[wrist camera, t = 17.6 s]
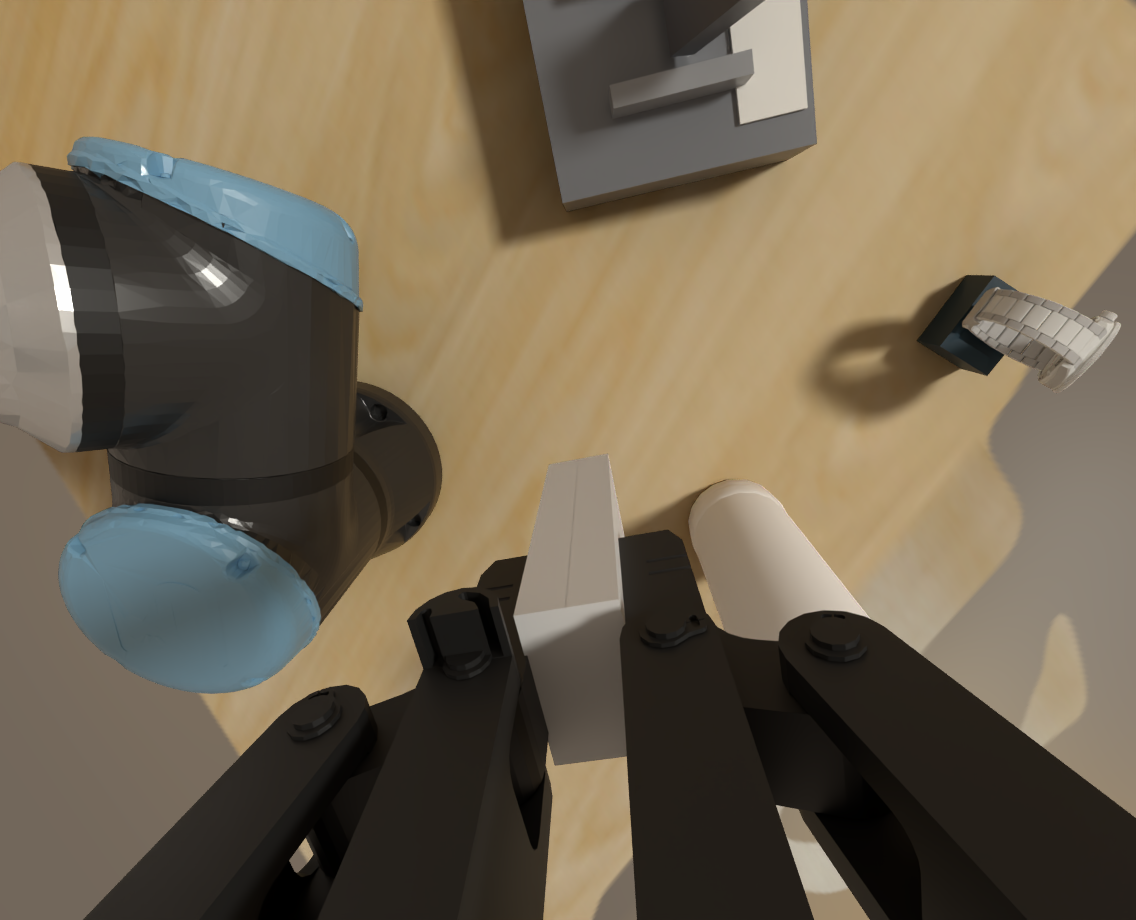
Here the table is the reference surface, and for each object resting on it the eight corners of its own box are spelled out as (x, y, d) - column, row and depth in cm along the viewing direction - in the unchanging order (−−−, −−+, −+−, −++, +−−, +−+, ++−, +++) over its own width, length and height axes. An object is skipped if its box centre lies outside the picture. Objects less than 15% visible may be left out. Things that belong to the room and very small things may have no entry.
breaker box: (566, 211, 42) (560, 198, 35) (516, -49, 37) (495, -130, 30) (787, 159, 40) (832, 134, 33) (764, -120, 36) (810, -226, 28)
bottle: (744, 458, 48) (968, 740, 19) (798, 524, 49) (1078, 875, 21) (668, 515, 49) (768, 848, 21) (722, 577, 51) (883, 963, 23)
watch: (980, 381, 45) (1098, 415, 34) (898, 329, 44) (993, 348, 33) (1033, 316, 43) (1173, 332, 33) (948, 261, 42) (1065, 259, 32)
